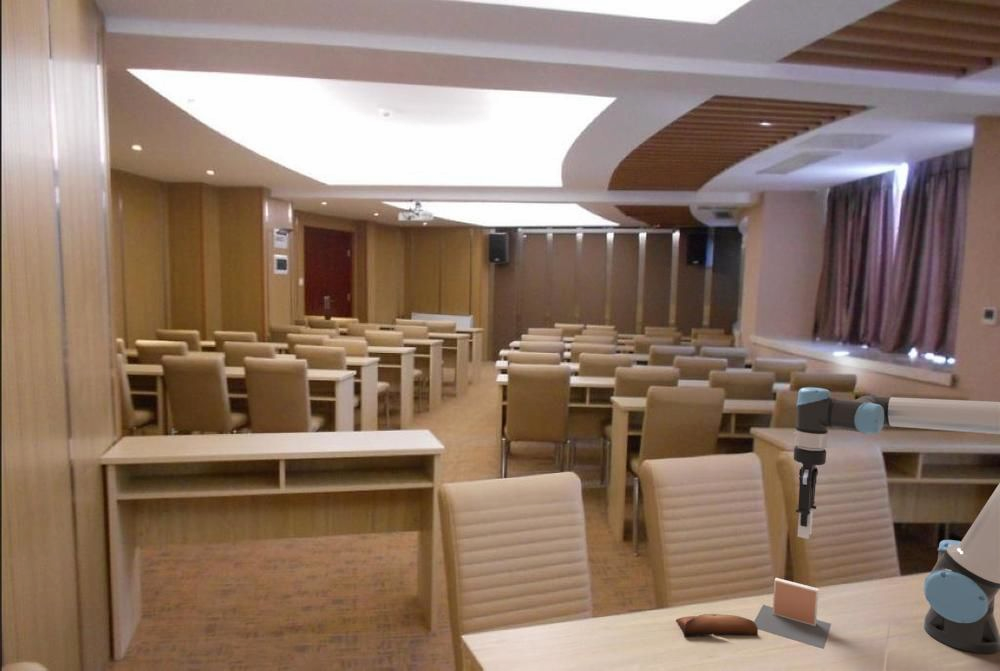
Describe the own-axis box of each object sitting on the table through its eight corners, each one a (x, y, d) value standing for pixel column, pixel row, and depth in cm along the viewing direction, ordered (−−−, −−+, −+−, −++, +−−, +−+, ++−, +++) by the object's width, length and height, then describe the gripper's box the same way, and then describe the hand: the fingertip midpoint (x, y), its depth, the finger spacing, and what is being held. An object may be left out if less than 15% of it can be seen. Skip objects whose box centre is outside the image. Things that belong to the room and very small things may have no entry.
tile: (816, 623, 159) (818, 588, 159) (815, 626, 158) (817, 591, 157) (773, 611, 165) (775, 577, 164) (772, 614, 163) (774, 580, 163)
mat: (830, 626, 160) (830, 623, 160) (823, 651, 148) (823, 648, 148) (763, 606, 168) (763, 604, 168) (751, 629, 157) (751, 626, 157)
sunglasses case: (742, 619, 161) (750, 603, 158) (752, 646, 156) (760, 631, 152) (672, 619, 160) (678, 603, 157) (680, 646, 155) (686, 631, 151)
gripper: (799, 439, 175) (794, 523, 177) (789, 450, 161) (783, 541, 163) (830, 443, 171) (824, 529, 172) (822, 455, 157) (815, 548, 159)
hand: (804, 534), depth 168 cm, fingers open, 3 cm apart
